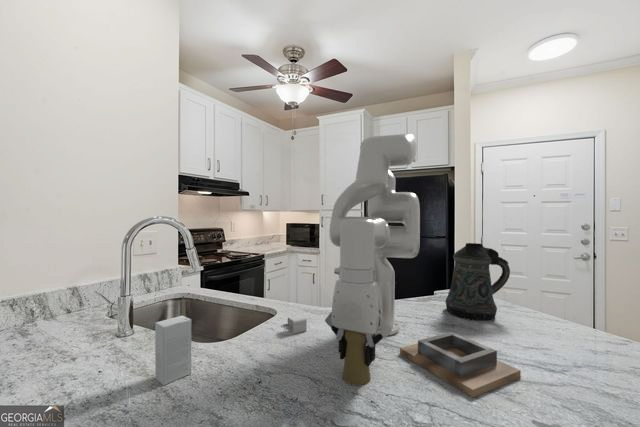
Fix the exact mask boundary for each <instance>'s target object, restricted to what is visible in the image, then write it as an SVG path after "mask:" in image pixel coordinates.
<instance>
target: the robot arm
mask: <svg viewBox="0 0 640 427" xmlns="http://www.w3.org/2000/svg"><path fill="white" fill-rule="evenodd" d="M417 147H418V146H417V141H416V138H415V136H414V135H413V134H412V133H400V134H390V135H389V134H386V135H378V136H377V135H376V136H371V137H367V138H365V139H363V140H362V141H361V143H360V145H359V150H360V151H359V157H358V163H357V168H356V169H357V170H356V176H355V180H354V182H352V183H351V184H350V185H348V186H347V187H346V188H345V189H344V190H343V192H341V194H340V195H339V196H338V197H337V199H336V200H335V202H334V205H333V207H332V208H333V209H332V213H331V217H330V223H329V229H328V230H329V239H330V242H331V243H332V244H333V245H334V246H336V247H339V266H338V267H335V268H334V270H333V272H334V274H335V275H338V279H337V280H336V281H335V284H334V290H333V296H332V305H331V312H330V313H329V314H328V315H327V316H326V318H325V319H324V322H325V323H326V325H328V327H330V329H331V330H332V332H333V333H334V335H335V337H336V340H337V341H338V353H339V359H340V360H345V354H346V347H347V341H346V339H345V330H348V331H353V332H358V333H363V334H366V338H367V344H366V345H367V346H366V363H365V364H366V366H369V367H370V366H371V364H372V363H373V362H374V361H375V360H376V345H377V344H378V343H379V342H381V341H382V340H383V339H385V338H386V337H388V336H392V335H395V334H397V333H399V331H400V329H401V328H400V324H399V323H398V322H396V321H395V295H396V294H395V292H396V291H395V288H396V287H395V286H396V285H395V284H396V281H395V279H396V278H395V277H396V276H395V270H394V267H393V265H392V264H391V262H389V260H388V259H387V258H398V259H400V258H401V259H413V258H416V257H417V256H418V254H419V253H420V246H421V245H420V244H421V242H420V241H421V240H420V239H421V237H420V236H421V228H420V227H421V208H420V207H421V206H420V200H419V197H418V195H417V194H416V193H414V192H411V191H409V192H408V191H398V192H396V183H397V182H396V177H395V175H394V173H392V171H391V170H390V167H400V166H401V167H402V166H404V167H405V166H410V165H411V164H412V163H413V161H414V159H415V157H416V153H417ZM366 201H367V216H347V215H348V213H349V212H350V211H351V210H352V209H353V208H354V207H356V206H357V205H360V204H361V203H363V202H366ZM389 223H401V224H403V226H402V225H389Z"/></svg>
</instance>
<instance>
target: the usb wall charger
mask: <svg viewBox="0 0 640 427" xmlns="http://www.w3.org/2000/svg"><path fill="white" fill-rule="evenodd" d="M307 321H308V320H307V318H306V317H305V316H304V315H296V316H295V315H294V316H290V317H288V318H287V323H285V324H281V325H280V328H283V330H285V331H286V330H287V331H288V332H290V333H291V334H292V335H297V334H300V333H304V332H307V328H308V326H307V324H308V322H307Z"/></svg>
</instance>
